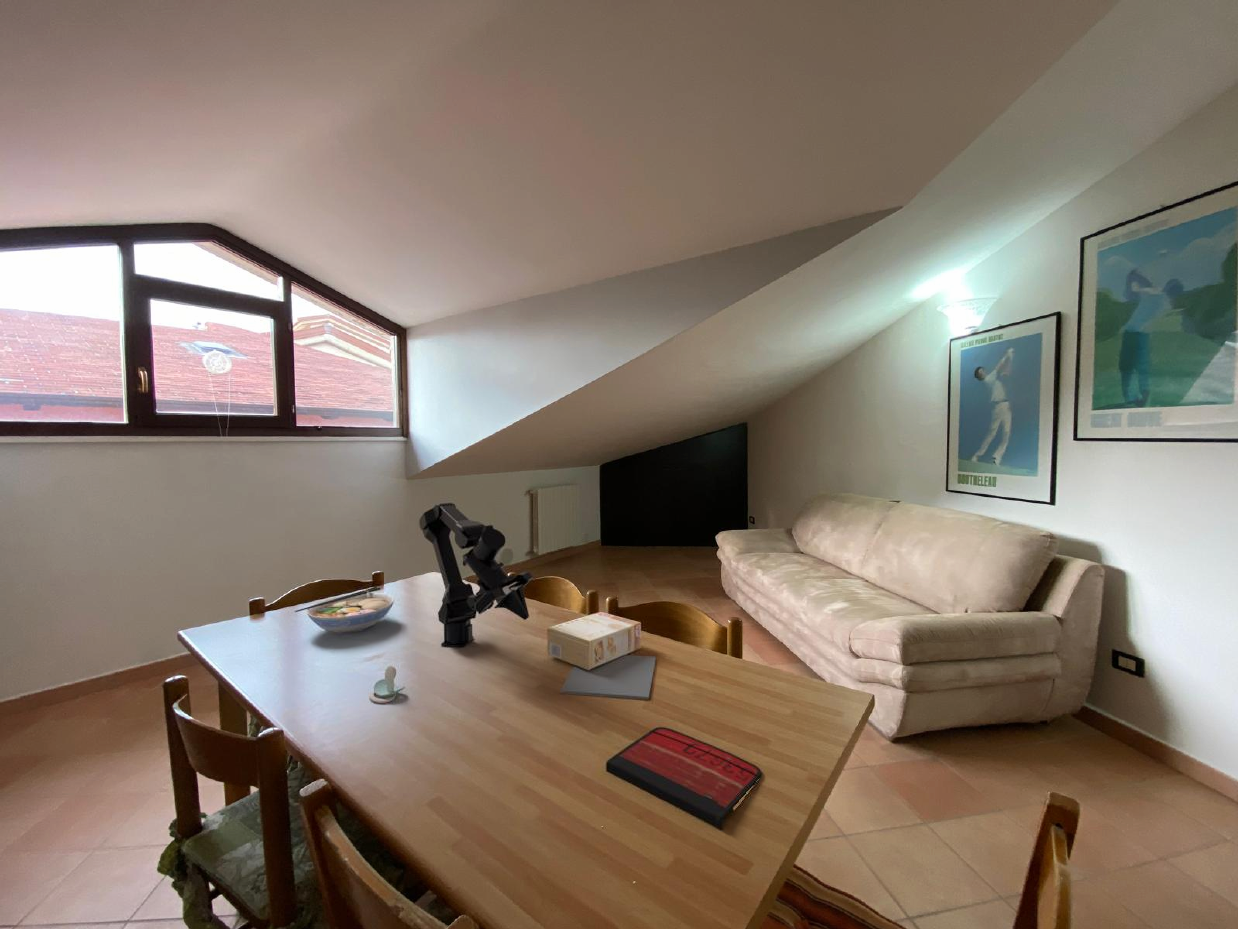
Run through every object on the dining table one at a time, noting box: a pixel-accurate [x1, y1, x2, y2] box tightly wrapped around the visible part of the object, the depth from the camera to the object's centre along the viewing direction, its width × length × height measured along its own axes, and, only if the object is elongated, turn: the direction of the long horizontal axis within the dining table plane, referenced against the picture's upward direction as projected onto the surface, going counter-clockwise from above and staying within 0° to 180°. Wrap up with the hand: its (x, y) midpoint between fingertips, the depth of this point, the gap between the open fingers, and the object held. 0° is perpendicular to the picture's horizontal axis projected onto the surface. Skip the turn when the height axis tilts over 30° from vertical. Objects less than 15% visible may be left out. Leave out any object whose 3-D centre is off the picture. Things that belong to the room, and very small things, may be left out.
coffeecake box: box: [546, 611, 642, 670], centre depth 129 cm, size 15×7×20 cm
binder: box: [605, 726, 762, 831], centre depth 83 cm, size 16×2×21 cm
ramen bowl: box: [293, 586, 395, 634], centre depth 146 cm, size 25×23×8 cm
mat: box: [560, 654, 657, 701], centre depth 117 cm, size 19×20×1 cm
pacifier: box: [368, 665, 406, 704], centre depth 107 cm, size 7×6×6 cm
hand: (527, 618), depth 121 cm, fingers closed
